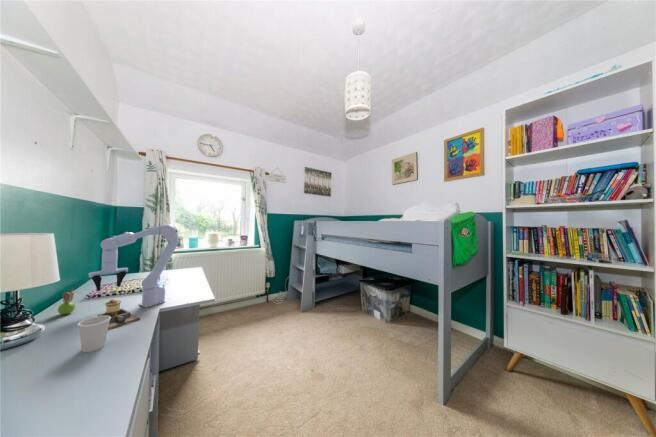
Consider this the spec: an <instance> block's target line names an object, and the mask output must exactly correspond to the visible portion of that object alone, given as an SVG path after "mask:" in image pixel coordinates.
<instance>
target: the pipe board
mask: <svg viewBox="0 0 656 437" xmlns="http://www.w3.org/2000/svg"><path fill="white" fill-rule="evenodd" d="M102 315H106V312H103V313H100V314H97V315H96V316H102ZM140 320H141V317H140V316H137V315H135V314H134V313H132V312H131V311H128V310H126V309H124V308H122V307H121V308H120V315H117V316H114V317H111V319H110V321H109V326H108V330H113V329H115V328H116V329H117V328H119V327H121V326H124V325H128V324H130V323H134V322H137V321H140Z"/></svg>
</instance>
